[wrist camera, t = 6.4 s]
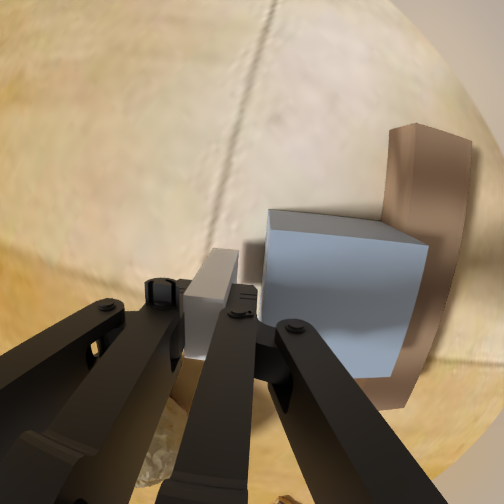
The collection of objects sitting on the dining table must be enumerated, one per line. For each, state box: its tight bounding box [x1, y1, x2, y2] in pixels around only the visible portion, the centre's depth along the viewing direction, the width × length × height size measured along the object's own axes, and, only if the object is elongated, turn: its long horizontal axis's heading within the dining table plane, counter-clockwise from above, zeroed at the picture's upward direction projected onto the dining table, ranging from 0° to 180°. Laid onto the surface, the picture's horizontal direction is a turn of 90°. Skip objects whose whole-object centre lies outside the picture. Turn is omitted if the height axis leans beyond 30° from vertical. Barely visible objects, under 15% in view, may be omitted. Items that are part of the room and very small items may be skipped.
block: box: [258, 209, 429, 378], centre depth 15 cm, size 7×7×6 cm
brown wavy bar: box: [353, 123, 472, 411], centre depth 16 cm, size 18×4×4 cm, turn 176°
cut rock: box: [135, 397, 188, 488], centre depth 17 cm, size 10×10×10 cm
